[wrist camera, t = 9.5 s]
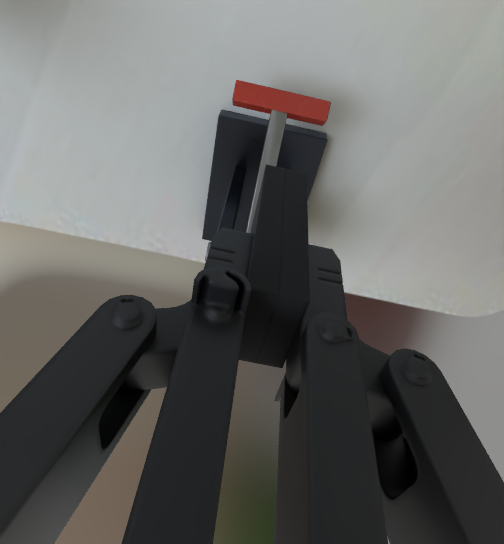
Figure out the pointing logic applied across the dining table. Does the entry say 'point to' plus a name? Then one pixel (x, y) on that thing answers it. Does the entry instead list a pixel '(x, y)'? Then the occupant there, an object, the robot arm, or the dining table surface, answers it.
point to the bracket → (251, 167)
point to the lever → (276, 120)
